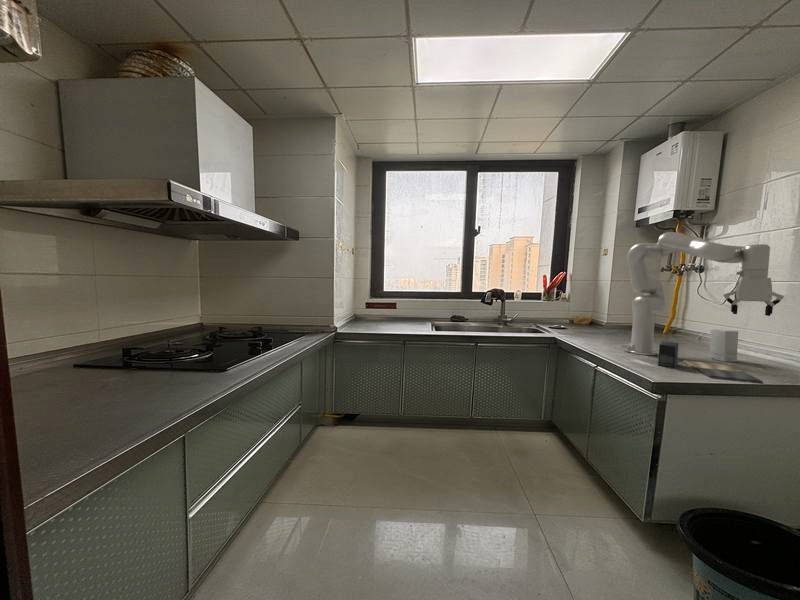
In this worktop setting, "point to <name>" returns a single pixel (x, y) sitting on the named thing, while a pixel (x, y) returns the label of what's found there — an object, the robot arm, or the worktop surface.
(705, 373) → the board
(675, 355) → the small box
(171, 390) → the worktop surface
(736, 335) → the skincare box
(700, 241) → the robot arm
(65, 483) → the worktop surface
